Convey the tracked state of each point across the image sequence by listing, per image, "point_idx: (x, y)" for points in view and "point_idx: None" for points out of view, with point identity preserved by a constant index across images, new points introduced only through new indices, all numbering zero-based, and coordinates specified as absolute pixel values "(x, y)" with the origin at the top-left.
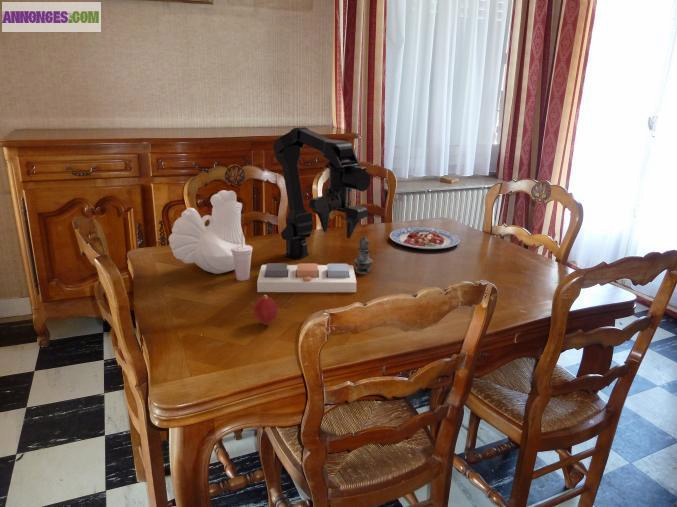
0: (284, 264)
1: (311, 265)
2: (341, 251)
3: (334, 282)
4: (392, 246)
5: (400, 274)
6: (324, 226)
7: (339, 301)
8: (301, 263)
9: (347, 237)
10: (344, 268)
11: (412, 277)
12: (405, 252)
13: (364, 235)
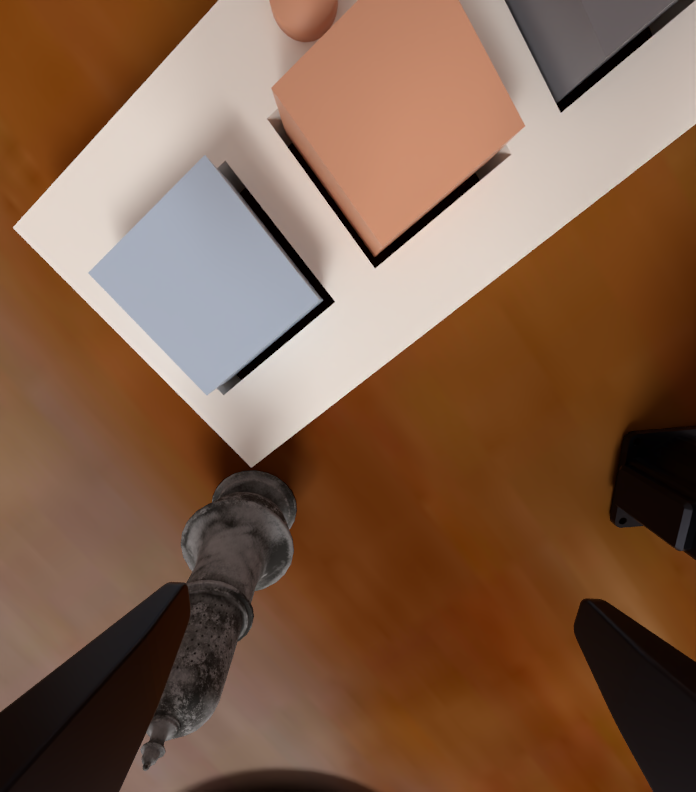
0: (615, 5)
1: (393, 167)
2: (492, 637)
3: (116, 113)
4: (344, 781)
5: (100, 575)
6: (655, 684)
7: (28, 34)
8: (494, 151)
9: (163, 590)
10: (149, 295)
11: (37, 577)
12: (261, 762)
13: (147, 760)
